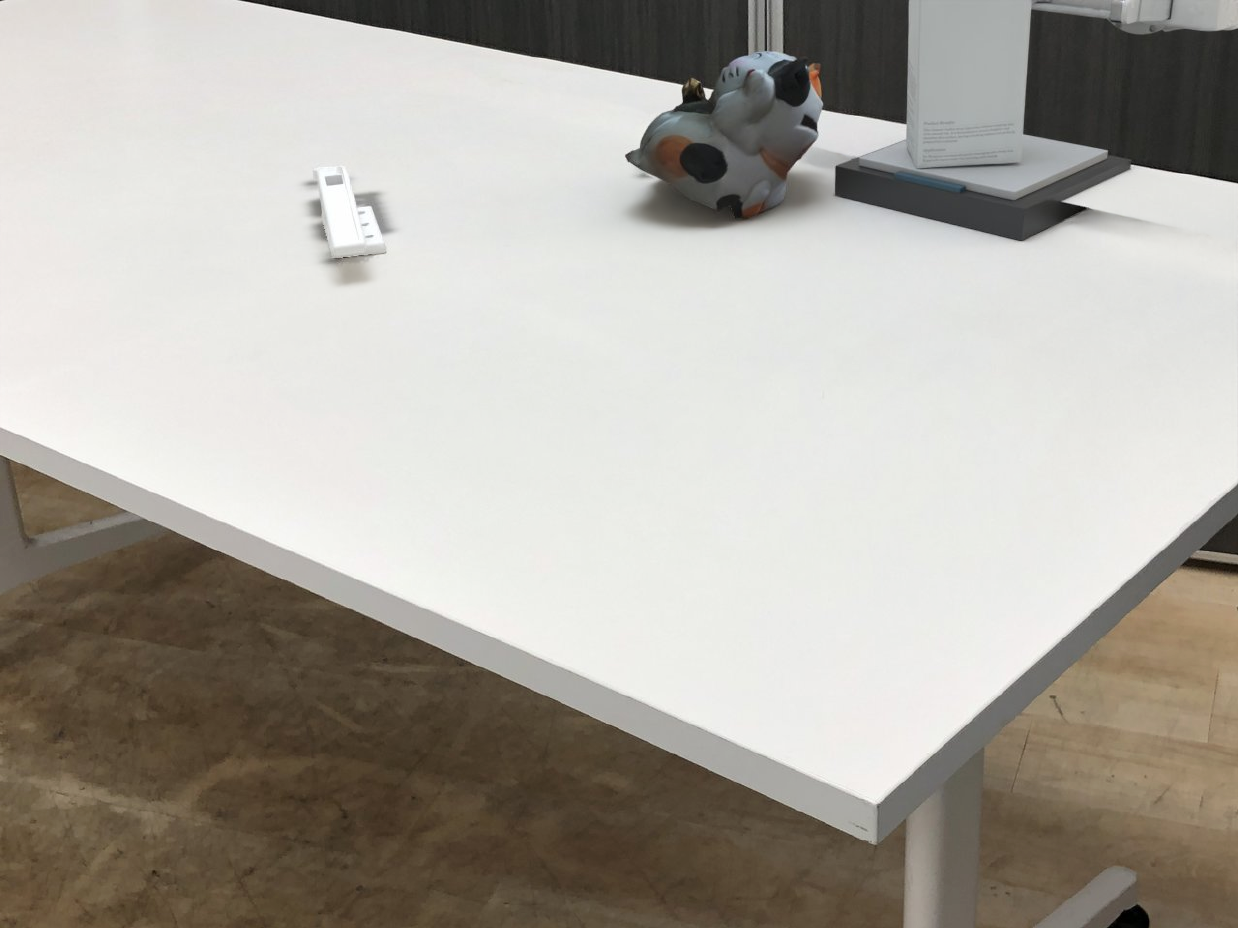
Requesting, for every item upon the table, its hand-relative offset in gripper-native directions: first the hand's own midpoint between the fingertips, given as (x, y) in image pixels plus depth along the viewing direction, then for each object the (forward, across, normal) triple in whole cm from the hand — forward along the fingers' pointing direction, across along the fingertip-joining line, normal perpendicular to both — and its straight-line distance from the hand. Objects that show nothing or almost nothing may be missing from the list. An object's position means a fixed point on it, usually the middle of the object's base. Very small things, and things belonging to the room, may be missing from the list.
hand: (1063, 5), depth 113 cm
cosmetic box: (+12, -1, +10) cm, 15 cm away
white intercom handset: (+48, -31, +13) cm, 58 cm away
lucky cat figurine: (+23, -15, +13) cm, 30 cm away
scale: (+10, 0, +13) cm, 16 cm away
